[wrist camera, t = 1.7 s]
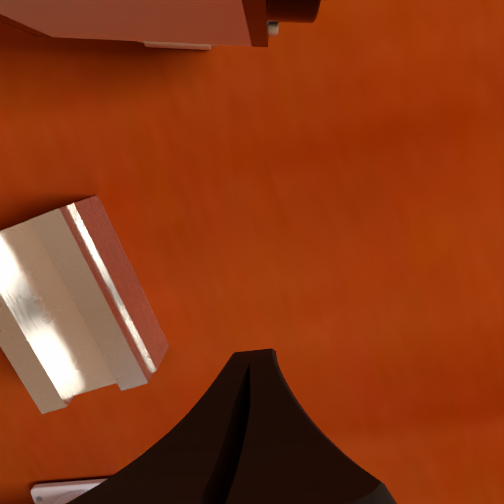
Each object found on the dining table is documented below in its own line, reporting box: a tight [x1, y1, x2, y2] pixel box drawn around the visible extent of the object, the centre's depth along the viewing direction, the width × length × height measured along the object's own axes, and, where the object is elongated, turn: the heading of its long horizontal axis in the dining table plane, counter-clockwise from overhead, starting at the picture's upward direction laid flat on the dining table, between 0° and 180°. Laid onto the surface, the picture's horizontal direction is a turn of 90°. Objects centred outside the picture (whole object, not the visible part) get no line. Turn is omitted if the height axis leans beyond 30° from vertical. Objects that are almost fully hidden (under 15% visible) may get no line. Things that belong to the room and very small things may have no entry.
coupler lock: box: [0, 195, 169, 414], centre depth 21 cm, size 10×7×4 cm
